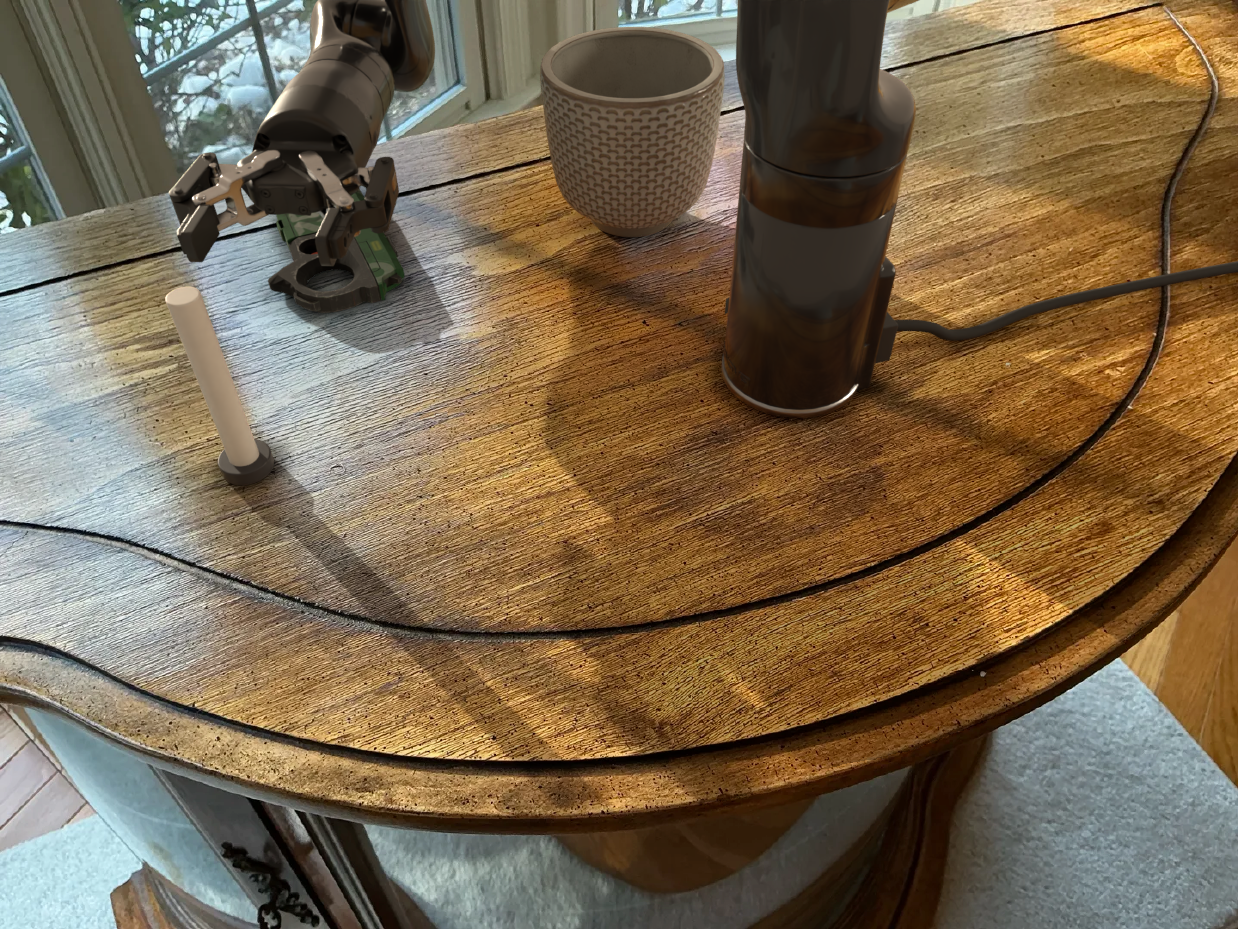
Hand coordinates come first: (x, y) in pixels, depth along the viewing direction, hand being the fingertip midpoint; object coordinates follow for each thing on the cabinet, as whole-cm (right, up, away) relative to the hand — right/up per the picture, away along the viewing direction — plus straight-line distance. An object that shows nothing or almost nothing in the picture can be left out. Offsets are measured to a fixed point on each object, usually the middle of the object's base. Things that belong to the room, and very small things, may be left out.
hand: (256, 252), depth 62 cm
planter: (+24, +7, +21) cm, 32 cm away
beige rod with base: (0, -14, 0) cm, 14 cm away
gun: (-1, +3, +17) cm, 17 cm away
